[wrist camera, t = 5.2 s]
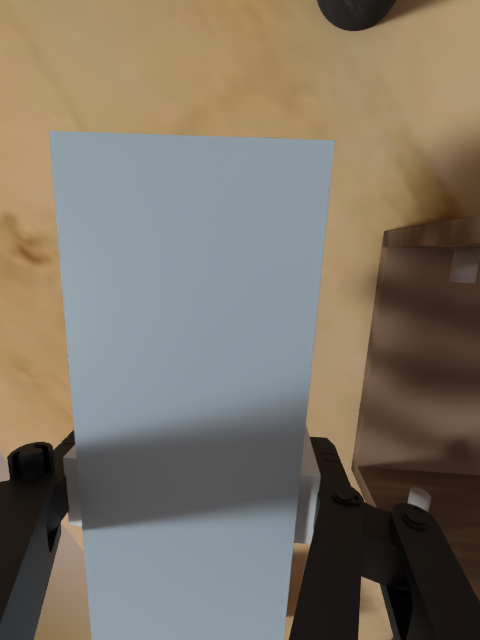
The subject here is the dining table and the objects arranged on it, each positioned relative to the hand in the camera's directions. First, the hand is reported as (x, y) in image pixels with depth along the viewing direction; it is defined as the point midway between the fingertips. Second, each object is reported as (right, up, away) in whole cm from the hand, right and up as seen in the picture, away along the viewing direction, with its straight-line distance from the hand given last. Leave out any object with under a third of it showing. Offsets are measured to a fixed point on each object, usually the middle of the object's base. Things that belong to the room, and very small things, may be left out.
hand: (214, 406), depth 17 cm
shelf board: (0, -1, -3) cm, 3 cm away
